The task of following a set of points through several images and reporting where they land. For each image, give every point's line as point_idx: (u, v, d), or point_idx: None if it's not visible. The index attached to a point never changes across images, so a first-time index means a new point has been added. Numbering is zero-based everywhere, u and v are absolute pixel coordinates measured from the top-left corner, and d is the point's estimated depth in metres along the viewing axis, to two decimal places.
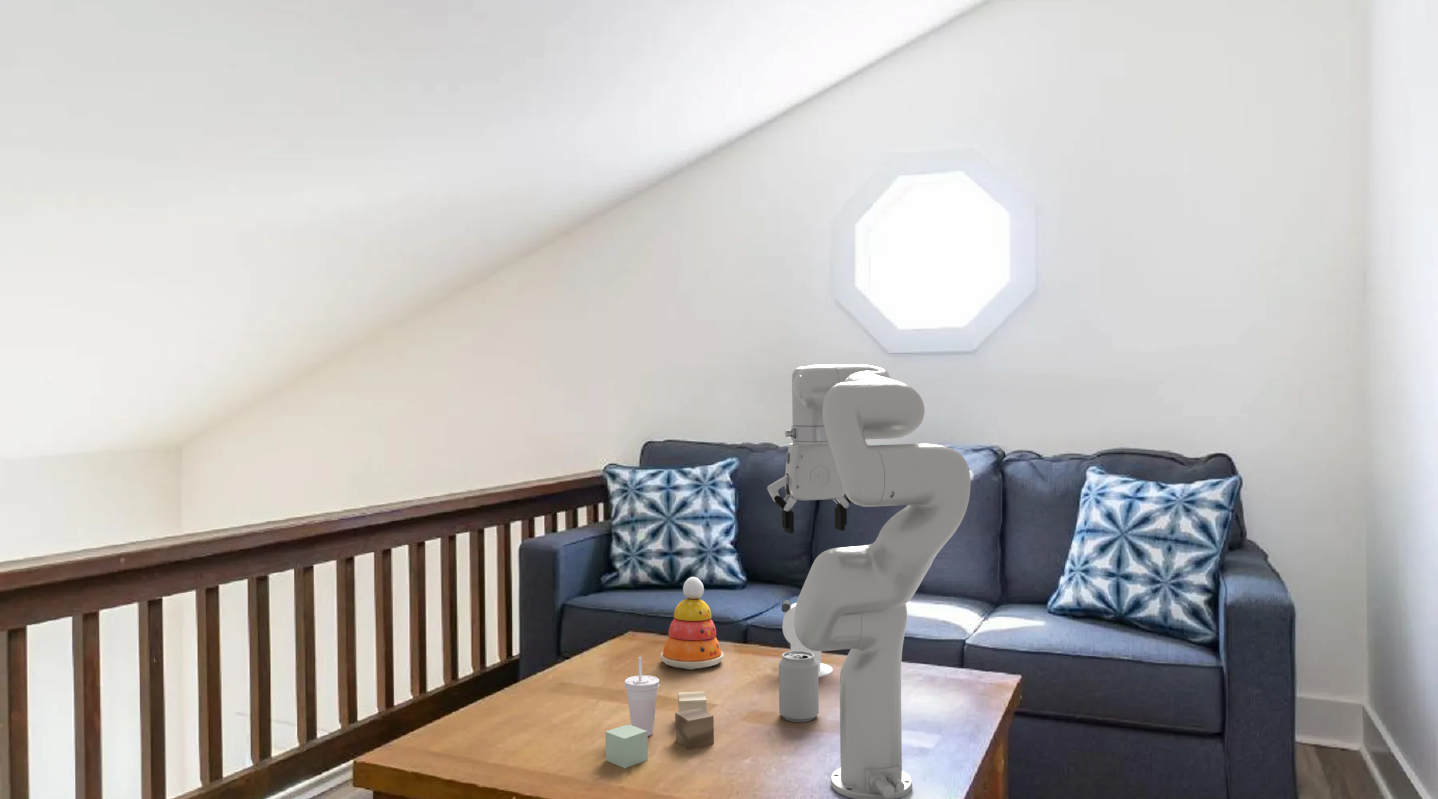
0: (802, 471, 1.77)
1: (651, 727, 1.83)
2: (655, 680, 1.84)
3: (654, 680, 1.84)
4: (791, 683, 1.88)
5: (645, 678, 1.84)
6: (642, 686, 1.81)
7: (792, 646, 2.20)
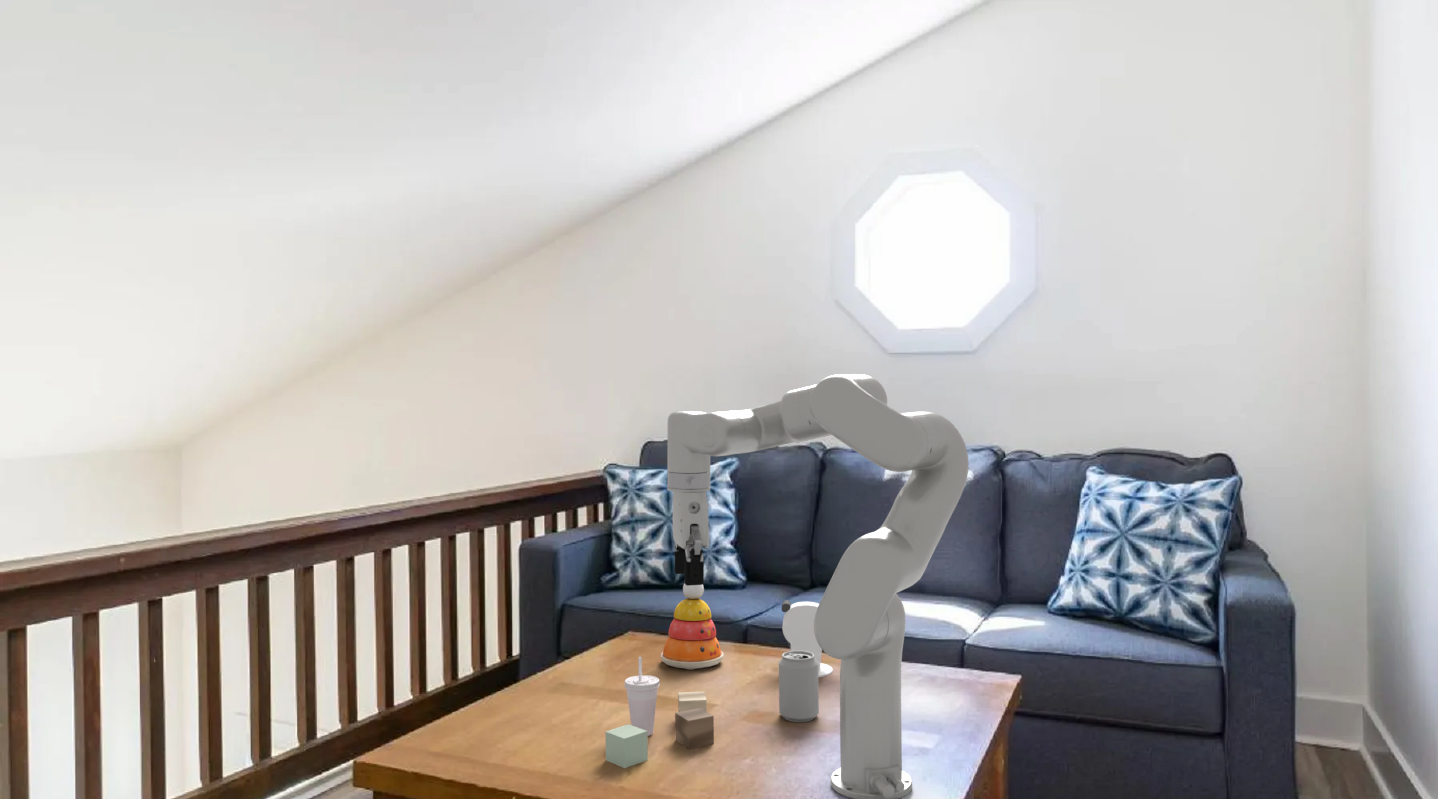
0: None
1: (651, 727, 1.83)
2: (655, 680, 1.84)
3: (654, 680, 1.84)
4: (791, 683, 1.88)
5: (645, 678, 1.84)
6: (642, 686, 1.81)
7: (792, 646, 2.20)
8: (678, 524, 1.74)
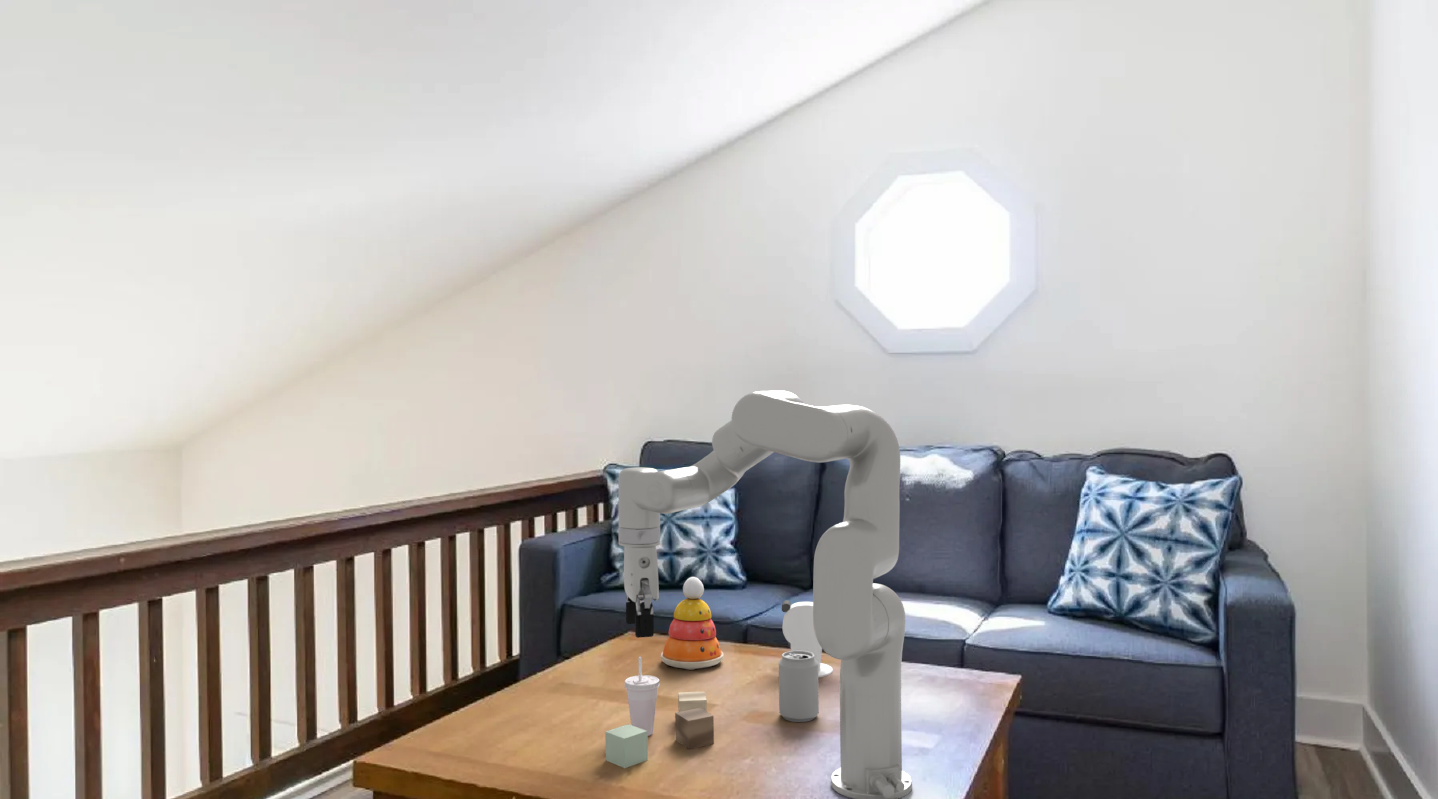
0: None
1: (651, 727, 1.83)
2: (655, 680, 1.84)
3: (654, 680, 1.84)
4: (791, 683, 1.88)
5: (645, 678, 1.84)
6: (642, 686, 1.81)
7: (792, 646, 2.20)
8: (629, 578, 1.80)
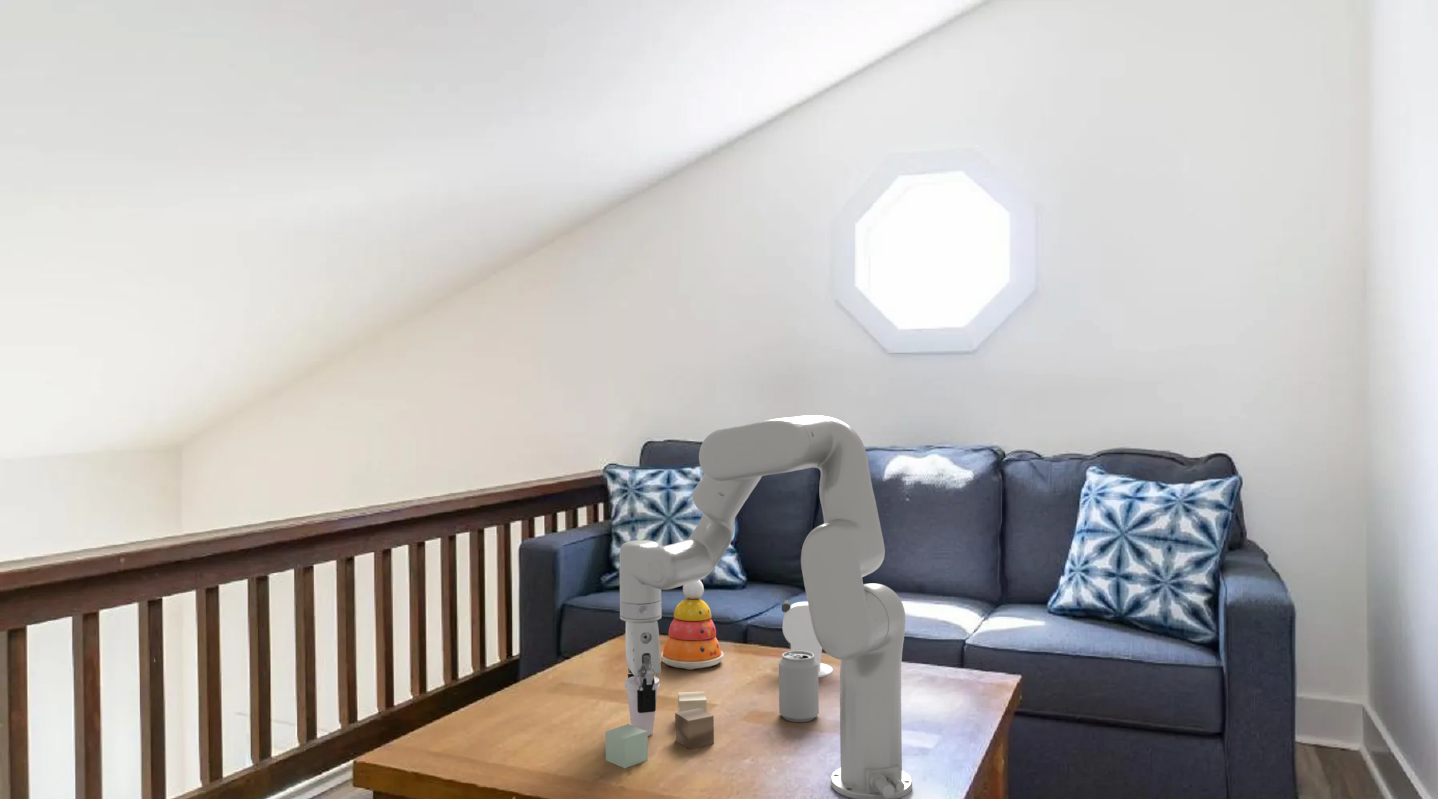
0: None
1: (651, 727, 1.83)
2: (655, 680, 1.84)
3: (654, 680, 1.84)
4: (791, 683, 1.88)
5: None
6: None
7: (792, 646, 2.20)
8: (631, 653, 1.80)
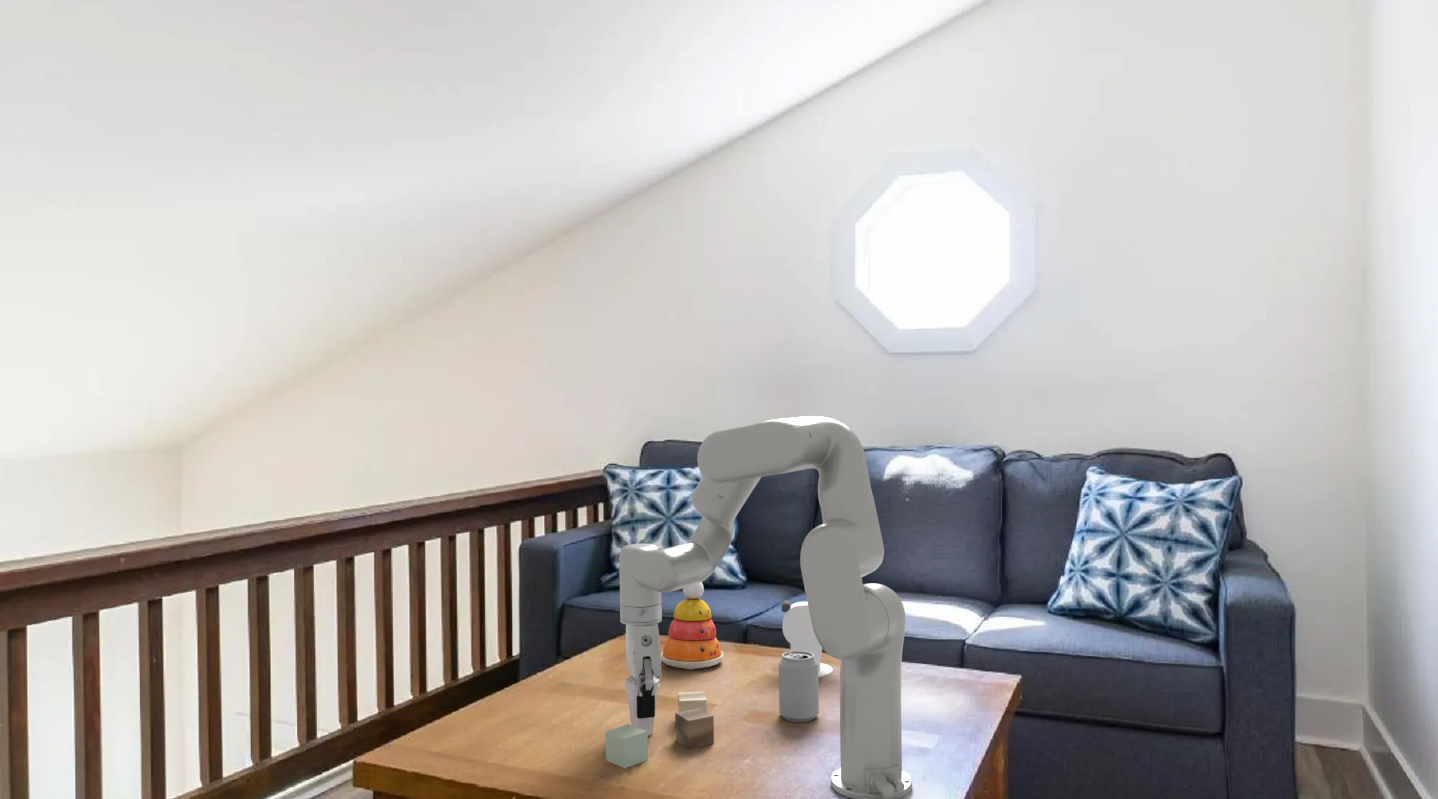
0: None
1: (651, 727, 1.83)
2: (655, 680, 1.84)
3: (654, 680, 1.84)
4: (791, 683, 1.88)
5: None
6: None
7: (792, 646, 2.20)
8: (631, 656, 1.80)
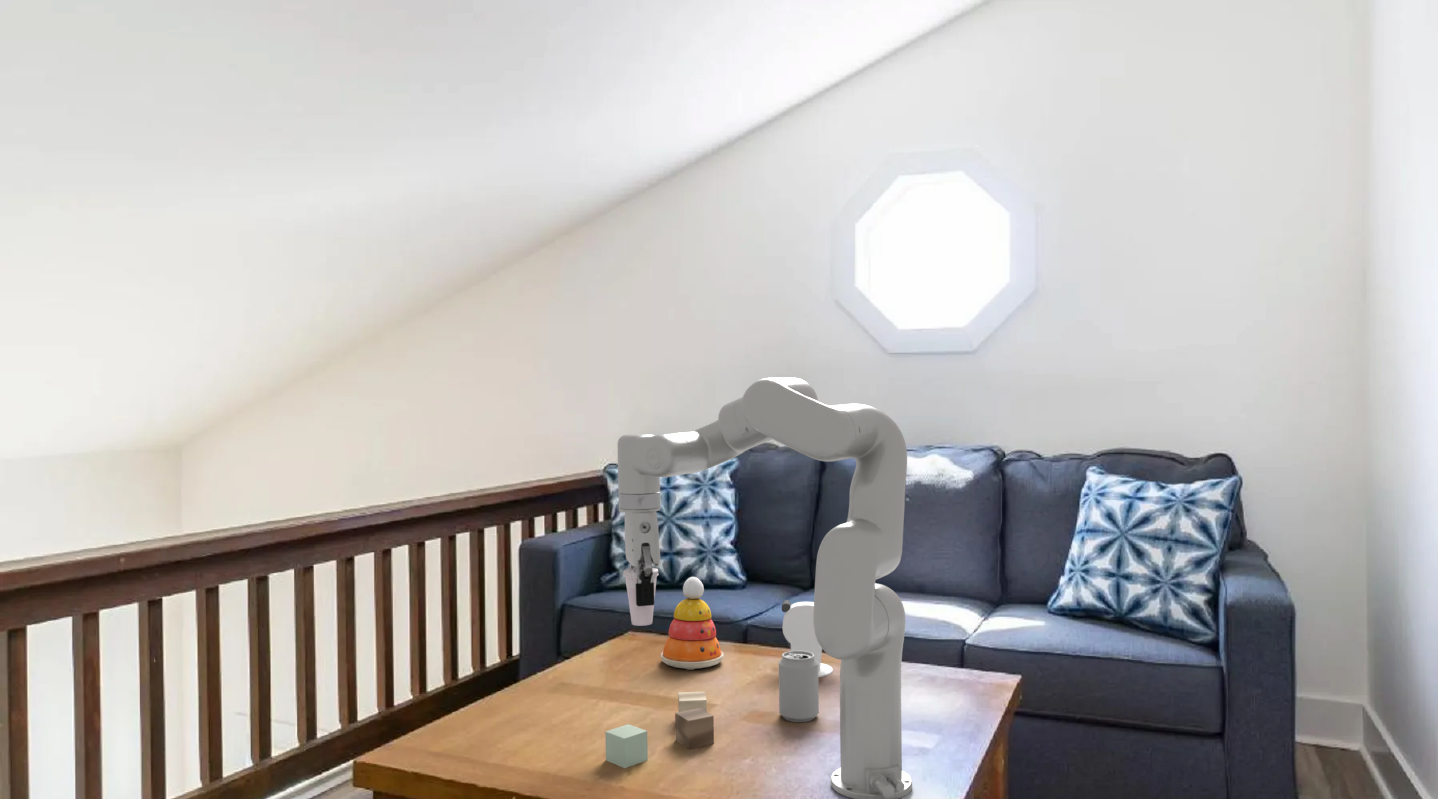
0: None
1: (650, 616, 1.82)
2: (654, 570, 1.83)
3: (653, 570, 1.83)
4: (791, 683, 1.88)
5: None
6: None
7: (792, 646, 2.20)
8: (630, 544, 1.80)
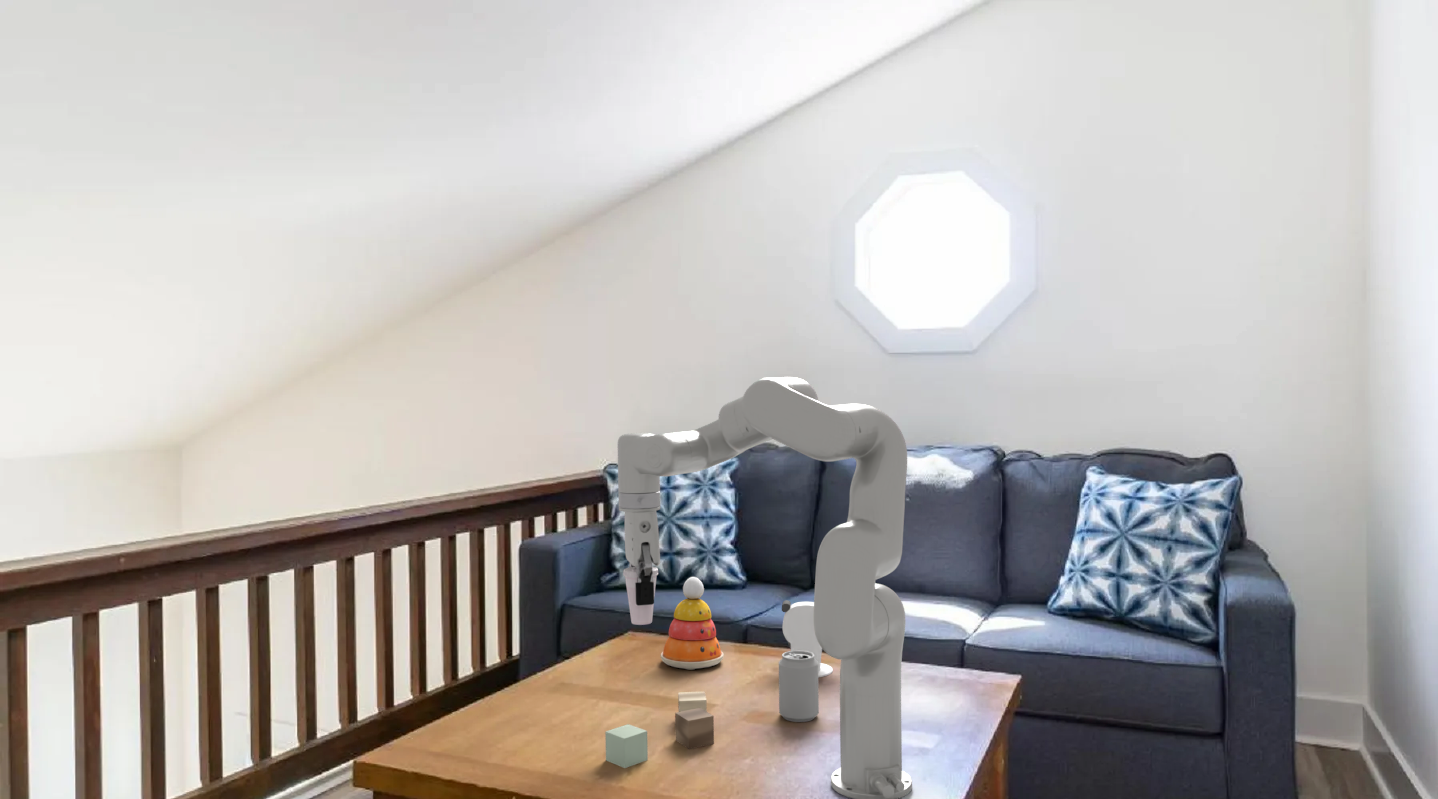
0: None
1: (650, 616, 1.82)
2: (654, 569, 1.83)
3: (653, 569, 1.83)
4: (791, 683, 1.88)
5: None
6: None
7: (792, 646, 2.20)
8: (630, 543, 1.80)
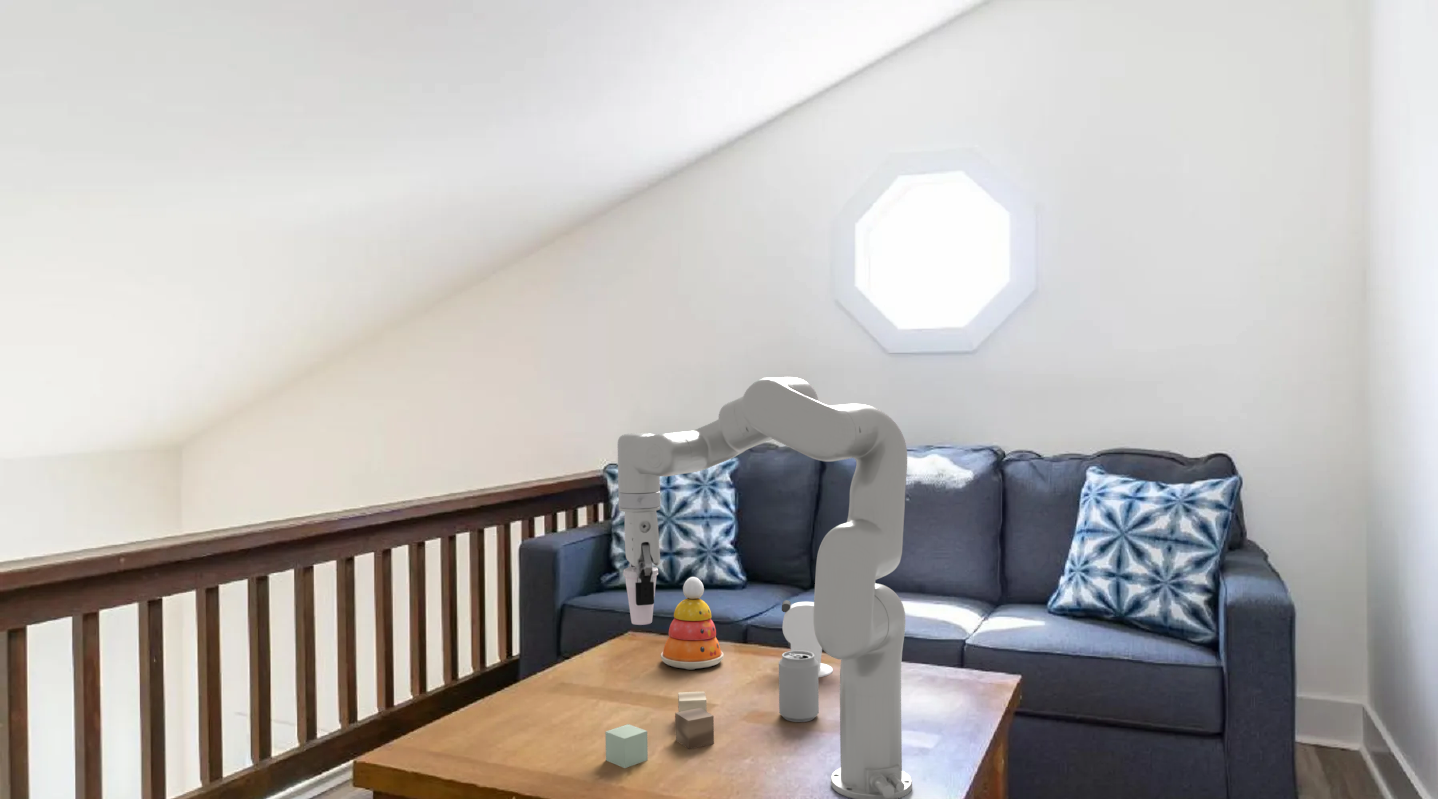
0: None
1: (650, 616, 1.82)
2: (654, 569, 1.83)
3: (653, 569, 1.83)
4: (791, 683, 1.88)
5: None
6: None
7: (792, 646, 2.20)
8: (630, 543, 1.80)
